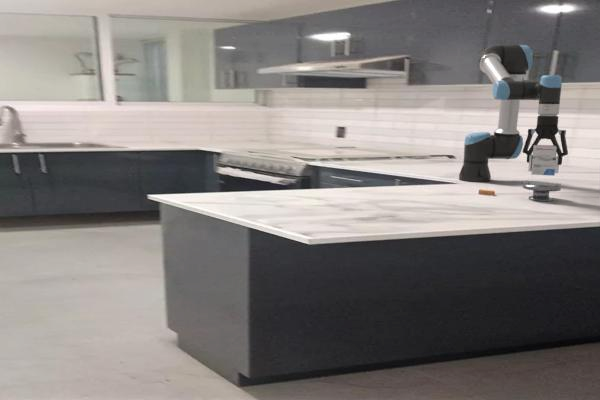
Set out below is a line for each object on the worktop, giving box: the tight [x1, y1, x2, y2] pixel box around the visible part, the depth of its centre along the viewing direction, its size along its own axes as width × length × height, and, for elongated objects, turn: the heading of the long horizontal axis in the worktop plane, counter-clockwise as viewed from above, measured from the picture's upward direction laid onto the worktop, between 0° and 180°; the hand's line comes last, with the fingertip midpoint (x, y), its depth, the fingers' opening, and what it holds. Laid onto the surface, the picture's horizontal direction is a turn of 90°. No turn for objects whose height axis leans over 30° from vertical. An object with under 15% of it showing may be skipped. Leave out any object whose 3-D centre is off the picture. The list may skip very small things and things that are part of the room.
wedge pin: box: [478, 189, 496, 196], centre depth 227 cm, size 6×2×2 cm, turn 55°
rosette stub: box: [522, 179, 562, 202], centre depth 216 cm, size 14×14×7 cm
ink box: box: [530, 144, 557, 176], centre depth 214 cm, size 8×5×12 cm, turn 65°
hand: (543, 171), depth 215 cm, fingers closed on ink box, 9 cm apart
